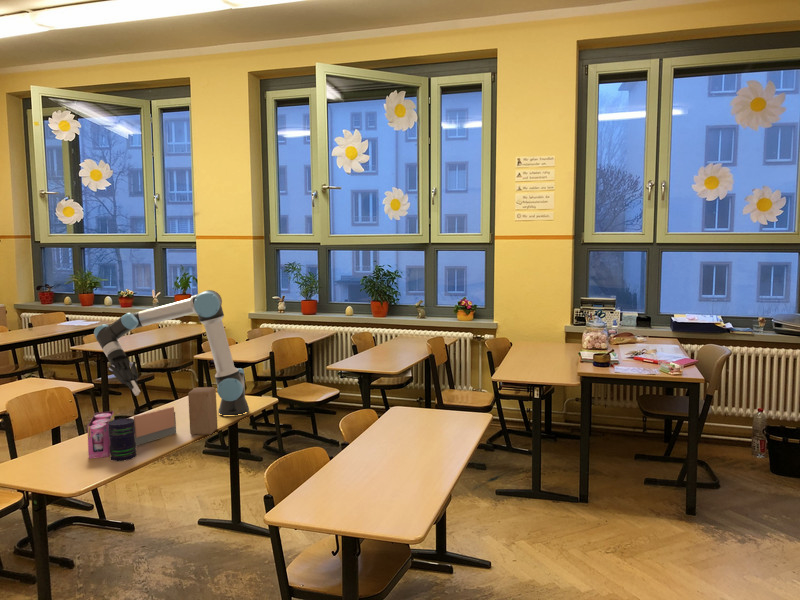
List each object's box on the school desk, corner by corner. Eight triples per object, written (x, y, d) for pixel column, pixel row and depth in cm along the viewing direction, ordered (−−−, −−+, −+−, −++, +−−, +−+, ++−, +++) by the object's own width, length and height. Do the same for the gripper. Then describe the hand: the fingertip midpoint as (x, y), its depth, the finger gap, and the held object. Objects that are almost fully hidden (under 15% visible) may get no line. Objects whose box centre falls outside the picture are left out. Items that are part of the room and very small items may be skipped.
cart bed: (164, 430, 288) (163, 409, 287) (176, 433, 283) (175, 412, 282) (119, 443, 270) (118, 421, 269) (131, 447, 265) (130, 424, 264)
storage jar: (113, 463, 245) (111, 426, 244) (107, 457, 253) (104, 421, 251) (139, 457, 252) (137, 421, 250) (132, 451, 259) (130, 416, 258)
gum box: (109, 457, 252) (107, 425, 251) (87, 460, 250) (85, 427, 248) (116, 440, 275) (114, 410, 273) (96, 442, 272) (94, 412, 271)
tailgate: (173, 425, 281) (172, 406, 281) (174, 426, 281) (173, 406, 280) (134, 437, 266) (133, 416, 265) (136, 437, 265) (135, 417, 264)
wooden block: (211, 435, 280) (209, 391, 278) (189, 435, 280) (187, 392, 278) (218, 428, 290) (216, 386, 288) (197, 428, 290) (195, 387, 288)
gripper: (125, 356, 292) (147, 395, 285) (98, 361, 282) (121, 401, 274) (131, 346, 289) (154, 385, 281) (104, 350, 278) (127, 391, 270)
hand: (137, 393), depth 277 cm, fingers closed
